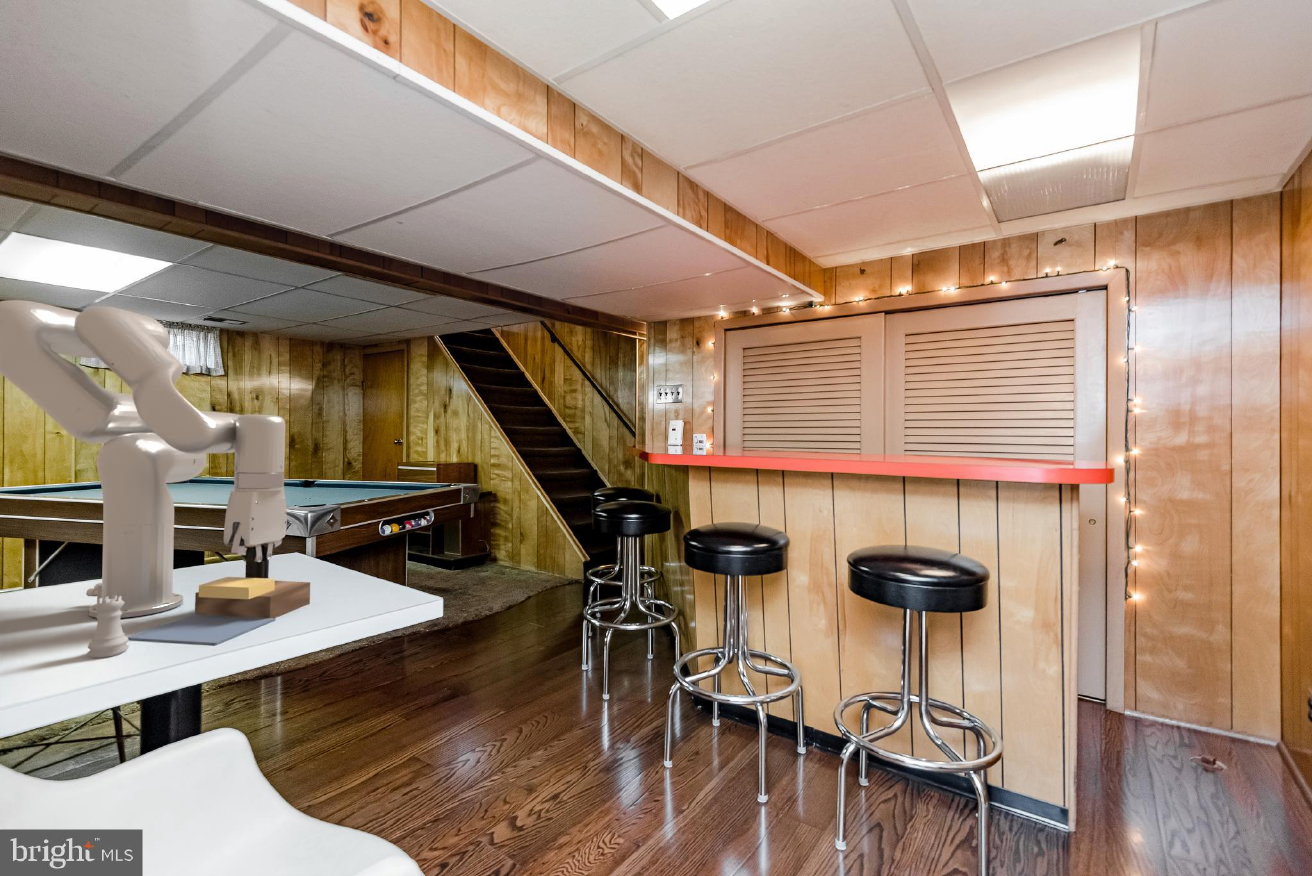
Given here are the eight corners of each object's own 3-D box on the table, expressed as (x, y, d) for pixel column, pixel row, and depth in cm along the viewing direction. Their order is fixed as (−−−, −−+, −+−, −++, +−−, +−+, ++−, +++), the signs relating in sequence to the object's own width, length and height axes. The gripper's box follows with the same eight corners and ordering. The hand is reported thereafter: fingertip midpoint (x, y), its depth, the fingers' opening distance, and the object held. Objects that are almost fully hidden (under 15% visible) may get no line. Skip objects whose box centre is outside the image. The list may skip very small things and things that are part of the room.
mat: (126, 639, 89) (126, 637, 89) (194, 615, 101) (194, 614, 101) (216, 644, 87) (216, 642, 87) (275, 620, 99) (275, 618, 99)
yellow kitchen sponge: (198, 597, 98) (198, 585, 98) (227, 587, 104) (227, 576, 104) (248, 599, 98) (248, 587, 98) (274, 589, 104) (274, 578, 104)
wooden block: (194, 615, 101) (195, 592, 101) (240, 599, 111) (241, 579, 111) (270, 619, 100) (270, 596, 100) (309, 603, 110) (310, 582, 110)
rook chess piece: (105, 647, 85) (106, 593, 85) (137, 647, 86) (138, 593, 86) (77, 659, 81) (78, 602, 81) (111, 659, 81) (113, 602, 81)
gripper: (270, 478, 113) (267, 572, 113) (205, 484, 98) (202, 592, 98) (306, 479, 113) (304, 573, 113) (247, 486, 98) (244, 594, 98)
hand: (256, 582), depth 106 cm, fingers closed
